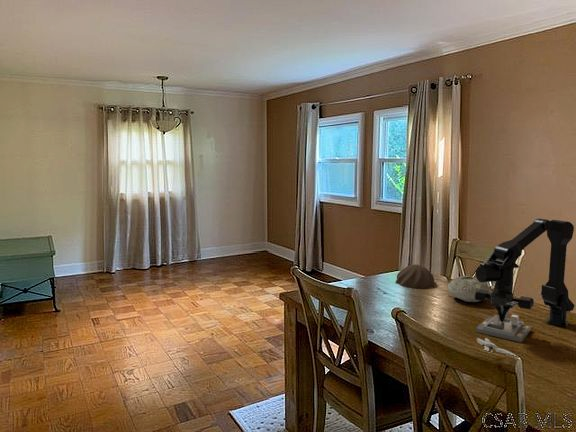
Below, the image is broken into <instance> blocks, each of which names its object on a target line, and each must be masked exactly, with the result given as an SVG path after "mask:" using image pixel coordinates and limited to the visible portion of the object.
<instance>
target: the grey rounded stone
mask: <svg viewBox="0 0 576 432" xmlns="http://www.w3.org/2000/svg"><path fill="white" fill-rule="evenodd" d="M480 289H481V290H487V291H490V294H491V293H492V291H491V287H490V286H489V285H488V282H483V283H482V282H479V281H478V280H477V278H476V276H475V277H474V276H471V275H463V276H462V275H461V276H456V277H455V278H452V279H451V280H450V282H448V285H447V290H448V292H449V294H450V295H451V296H452V297H455V298H457V299H460V300H461V301H463V302H466V303H468V302H469V303H477V302H481V301H480V300H475V299H474V298H475V293H476V292H477V291H479V290H480ZM485 300H487V298H486V299H485Z"/></svg>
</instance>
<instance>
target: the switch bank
mask: <svg viewBox="0 0 576 432" xmlns="http://www.w3.org/2000/svg"><path fill="white" fill-rule="evenodd" d="M492 321H493V316H492V317H487V318H485V319H484V320H483V321H482V322H481V323H479V325H478V326H476V328H475V329H476V330H475V332H476V333H478V334H479V333H480V334H484V335H487V336H493V337H496V338H501V339H505V340H509V341H514V342H518V343H523V342H524V340H525V338H526V337H527V336H528V334H529V333H530V331H531V328H532V326H530V325H526V324H524V323H525V322H524V321H522V320H518V322H520V324H519V325H518V324H513V323H512V329H514V331H513V332H509V331H505V330H503V329H504V323H505V322H506V321H507V322H510V321H511V318H507V317H505V320H504V321H503V322H501V320H500V322H501V323H502V325H497V324H493V323H491V322H492Z"/></svg>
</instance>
